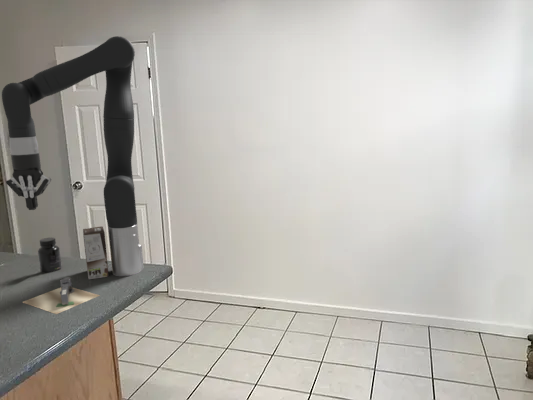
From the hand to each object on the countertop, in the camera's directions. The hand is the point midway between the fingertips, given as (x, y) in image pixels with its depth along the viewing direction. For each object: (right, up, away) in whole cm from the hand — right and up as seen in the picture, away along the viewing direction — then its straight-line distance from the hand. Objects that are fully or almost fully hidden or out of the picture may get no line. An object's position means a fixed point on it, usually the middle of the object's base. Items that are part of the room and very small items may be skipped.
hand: (32, 209), depth 144 cm
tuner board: (+12, -27, -8) cm, 31 cm away
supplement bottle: (-2, -22, +17) cm, 28 cm away
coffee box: (+16, -23, +12) cm, 30 cm away
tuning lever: (+14, -25, -8) cm, 29 cm away
